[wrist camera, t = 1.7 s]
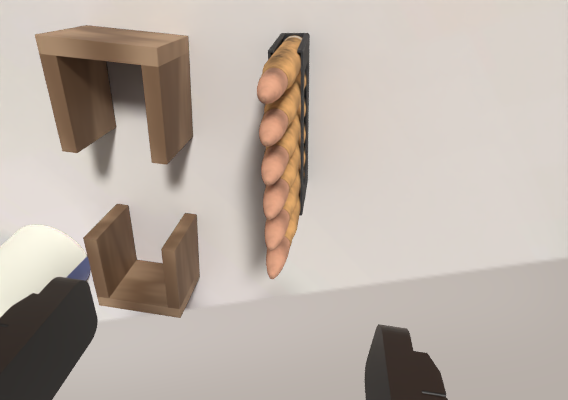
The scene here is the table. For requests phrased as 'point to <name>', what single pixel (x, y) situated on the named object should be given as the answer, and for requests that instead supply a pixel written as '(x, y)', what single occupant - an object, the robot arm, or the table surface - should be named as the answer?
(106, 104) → the end cap
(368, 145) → the table surface
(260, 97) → the ammunition clip
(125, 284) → the end cap
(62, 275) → the water bottle
